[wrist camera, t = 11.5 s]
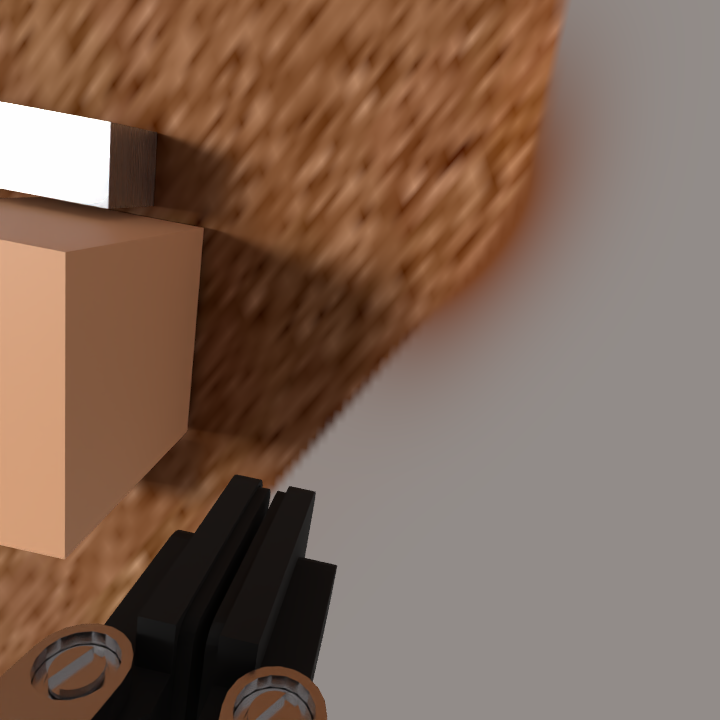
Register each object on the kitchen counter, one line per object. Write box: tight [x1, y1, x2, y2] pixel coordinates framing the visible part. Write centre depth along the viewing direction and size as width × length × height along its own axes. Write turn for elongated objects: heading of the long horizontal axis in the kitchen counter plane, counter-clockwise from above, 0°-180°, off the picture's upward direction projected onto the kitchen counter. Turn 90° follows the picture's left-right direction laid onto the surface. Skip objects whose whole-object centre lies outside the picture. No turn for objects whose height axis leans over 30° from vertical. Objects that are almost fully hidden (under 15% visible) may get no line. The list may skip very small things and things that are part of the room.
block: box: [0, 197, 204, 559], centre depth 17 cm, size 8×6×8 cm
